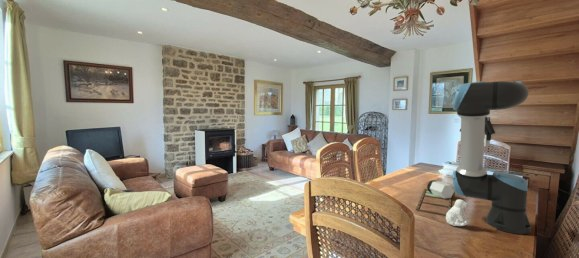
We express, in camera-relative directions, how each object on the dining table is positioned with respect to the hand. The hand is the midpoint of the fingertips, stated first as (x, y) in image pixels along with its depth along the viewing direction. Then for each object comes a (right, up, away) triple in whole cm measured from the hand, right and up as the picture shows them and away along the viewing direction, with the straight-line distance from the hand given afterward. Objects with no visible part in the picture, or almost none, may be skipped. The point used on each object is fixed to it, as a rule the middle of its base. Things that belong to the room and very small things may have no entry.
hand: (475, 144), depth 148 cm
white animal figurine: (-35, -34, -36) cm, 60 cm away
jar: (-17, -27, -1) cm, 32 cm away
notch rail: (-26, -32, -4) cm, 42 cm away
